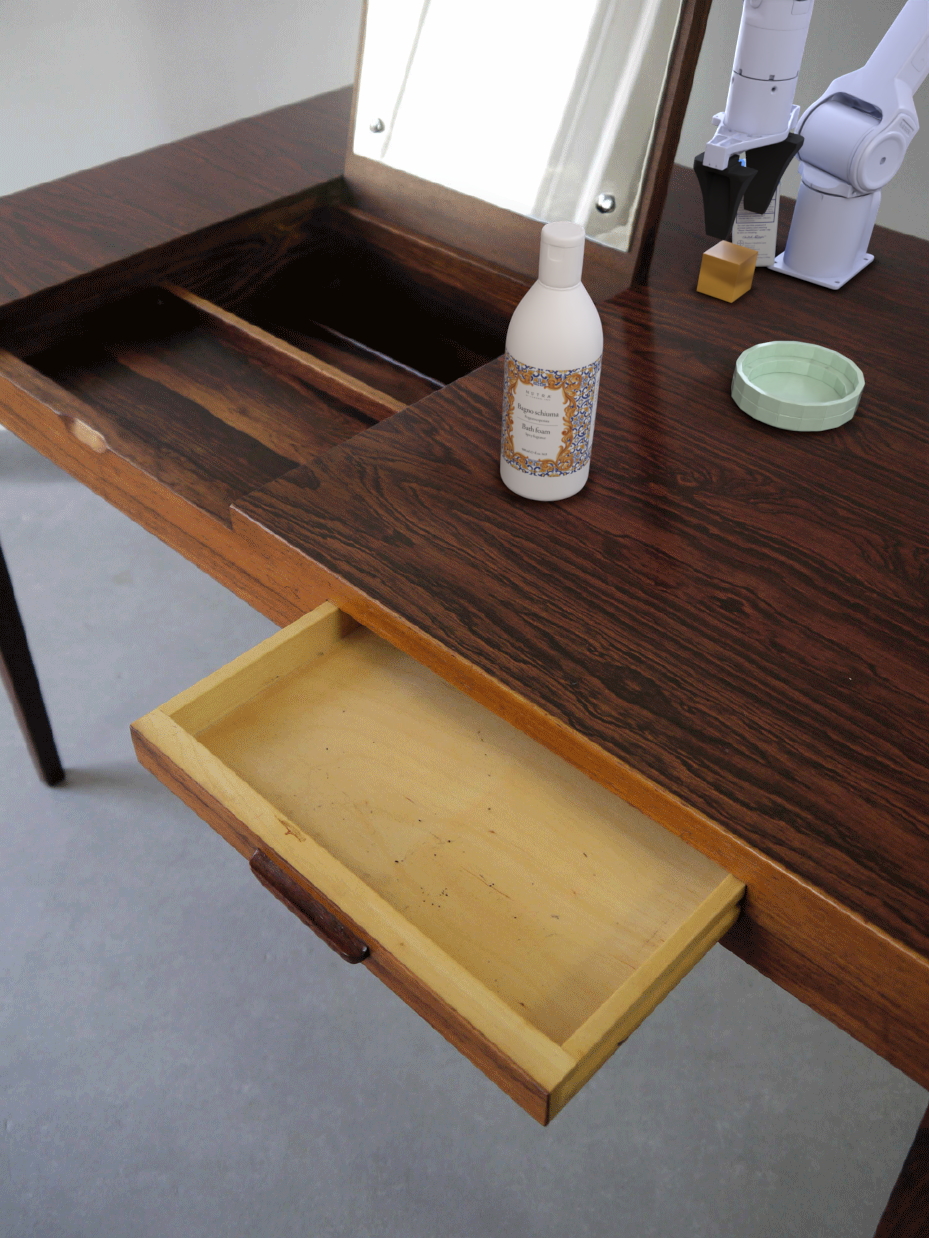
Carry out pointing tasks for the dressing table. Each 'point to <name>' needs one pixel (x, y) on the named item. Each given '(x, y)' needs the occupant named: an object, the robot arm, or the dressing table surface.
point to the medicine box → (758, 229)
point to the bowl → (797, 385)
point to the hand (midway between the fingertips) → (735, 223)
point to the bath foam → (552, 375)
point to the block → (727, 271)
